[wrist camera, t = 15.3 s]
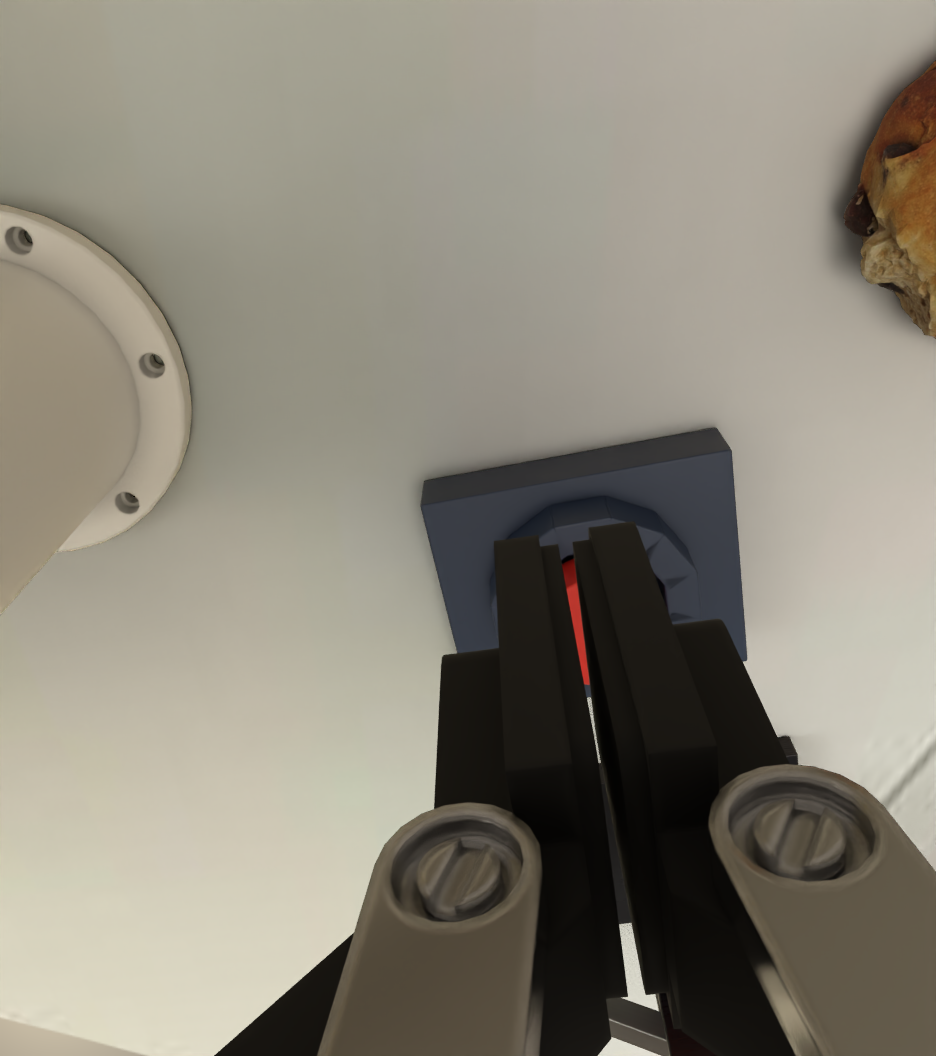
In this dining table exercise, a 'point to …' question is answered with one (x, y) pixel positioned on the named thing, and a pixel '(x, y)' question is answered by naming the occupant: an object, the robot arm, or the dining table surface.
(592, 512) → the button housing
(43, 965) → the dining table surface
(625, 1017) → the lever
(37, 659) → the dining table surface
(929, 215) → the bread roll
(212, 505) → the dining table surface
